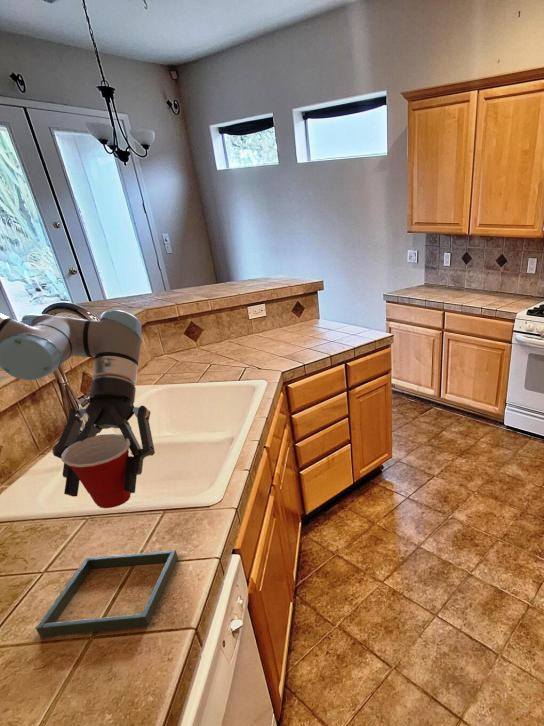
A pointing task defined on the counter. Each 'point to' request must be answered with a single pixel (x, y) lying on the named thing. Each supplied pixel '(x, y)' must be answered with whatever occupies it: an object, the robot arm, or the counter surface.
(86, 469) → the plastic cup
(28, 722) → the counter surface
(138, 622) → the grey square frame
